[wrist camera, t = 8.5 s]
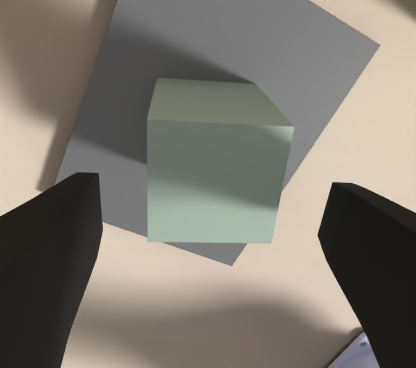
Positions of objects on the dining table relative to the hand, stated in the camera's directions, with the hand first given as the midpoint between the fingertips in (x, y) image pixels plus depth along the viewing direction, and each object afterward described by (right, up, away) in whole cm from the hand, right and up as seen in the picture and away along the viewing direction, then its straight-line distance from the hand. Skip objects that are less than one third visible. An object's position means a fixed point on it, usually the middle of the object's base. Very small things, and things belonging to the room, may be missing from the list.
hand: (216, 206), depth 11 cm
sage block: (0, +3, +6) cm, 7 cm away
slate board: (-1, +4, +7) cm, 8 cm away
